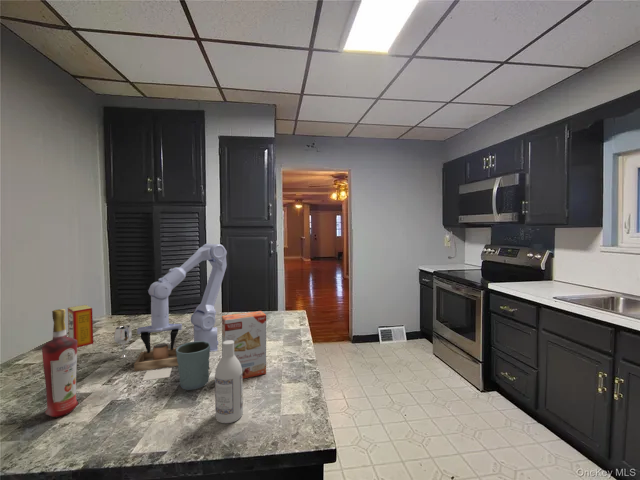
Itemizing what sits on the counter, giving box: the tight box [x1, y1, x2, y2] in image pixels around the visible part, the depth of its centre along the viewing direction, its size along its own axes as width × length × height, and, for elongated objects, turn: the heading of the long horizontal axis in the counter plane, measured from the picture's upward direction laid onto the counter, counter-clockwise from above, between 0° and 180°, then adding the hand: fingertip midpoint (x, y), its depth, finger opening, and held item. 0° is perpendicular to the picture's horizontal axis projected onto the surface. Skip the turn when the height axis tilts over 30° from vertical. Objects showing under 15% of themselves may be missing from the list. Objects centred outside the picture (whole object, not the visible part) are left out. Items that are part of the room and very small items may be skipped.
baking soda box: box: [67, 304, 94, 348], centre depth 134 cm, size 10×6×16 cm
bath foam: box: [214, 340, 244, 424], centre depth 81 cm, size 7×7×20 cm
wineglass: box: [113, 325, 133, 359], centre depth 118 cm, size 6×6×12 cm
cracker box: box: [221, 310, 267, 380], centre depth 104 cm, size 14×6×21 cm, turn 117°
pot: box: [152, 342, 169, 360], centre depth 114 cm, size 5×5×6 cm
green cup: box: [176, 340, 211, 391], centre depth 99 cm, size 10×10×12 cm
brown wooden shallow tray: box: [133, 347, 179, 373], centre depth 114 cm, size 15×11×3 cm
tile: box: [141, 367, 173, 382], centre depth 104 cm, size 8×7×1 cm
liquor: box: [41, 308, 79, 418], centre depth 83 cm, size 7×7×28 cm
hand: (160, 350), depth 113 cm, fingers open, 7 cm apart
